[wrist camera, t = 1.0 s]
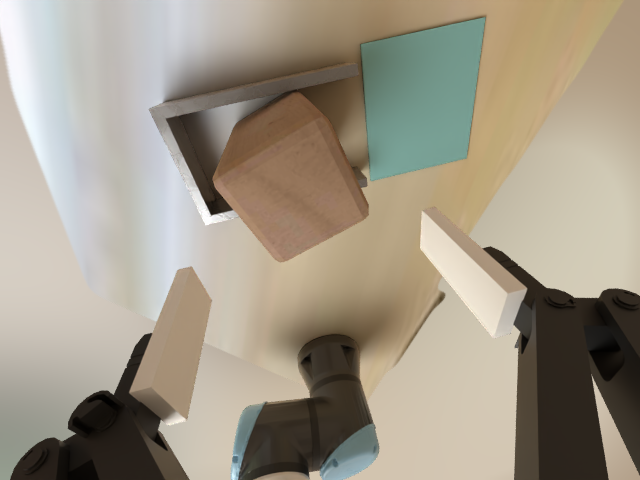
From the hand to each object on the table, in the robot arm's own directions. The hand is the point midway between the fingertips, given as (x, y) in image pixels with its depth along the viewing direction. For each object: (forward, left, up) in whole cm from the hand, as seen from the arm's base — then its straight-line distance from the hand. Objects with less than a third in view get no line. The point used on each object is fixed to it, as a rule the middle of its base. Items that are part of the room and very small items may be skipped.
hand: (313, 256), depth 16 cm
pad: (0, -20, -27) cm, 34 cm away
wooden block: (0, 0, -28) cm, 28 cm away
